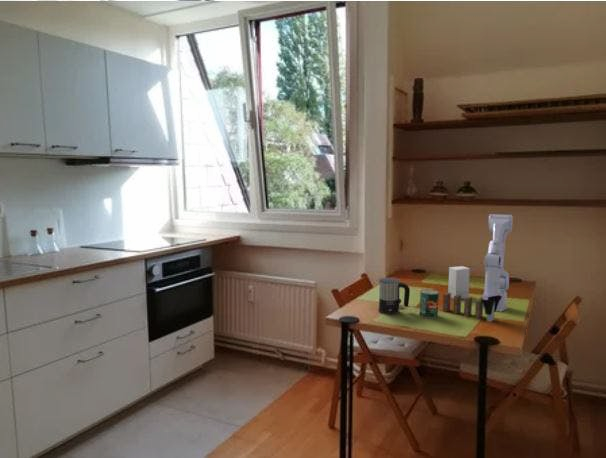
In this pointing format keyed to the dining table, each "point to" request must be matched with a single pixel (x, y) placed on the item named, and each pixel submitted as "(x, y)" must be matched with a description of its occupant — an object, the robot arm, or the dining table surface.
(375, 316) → the dining table surface
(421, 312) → the canned tomato
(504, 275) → the robot arm
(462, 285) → the skincare box
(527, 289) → the dining table surface
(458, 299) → the domino
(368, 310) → the dining table surface
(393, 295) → the milk frother
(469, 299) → the domino
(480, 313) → the domino
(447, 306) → the domino
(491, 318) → the domino
